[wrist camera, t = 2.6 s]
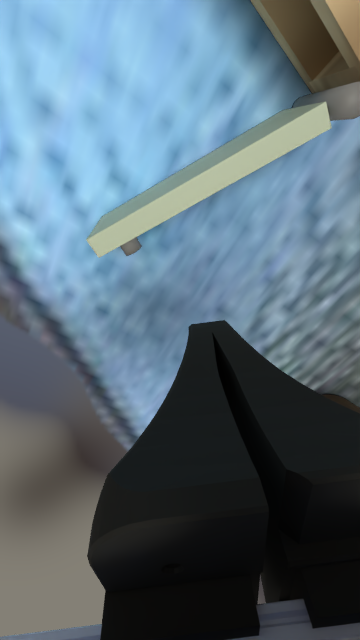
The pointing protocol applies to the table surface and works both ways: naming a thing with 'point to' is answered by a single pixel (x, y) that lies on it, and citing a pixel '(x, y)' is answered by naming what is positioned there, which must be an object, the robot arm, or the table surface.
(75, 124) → the table surface
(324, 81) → the tan wooden crate
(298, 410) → the robot arm
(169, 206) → the door
